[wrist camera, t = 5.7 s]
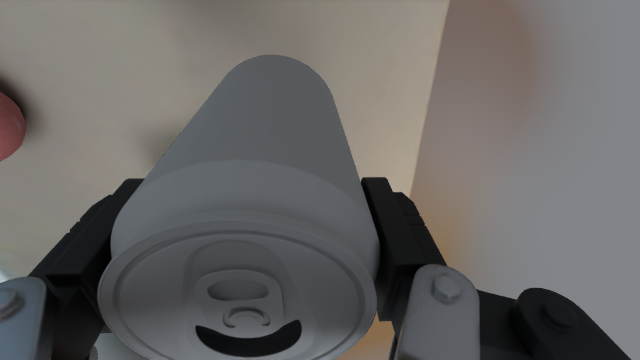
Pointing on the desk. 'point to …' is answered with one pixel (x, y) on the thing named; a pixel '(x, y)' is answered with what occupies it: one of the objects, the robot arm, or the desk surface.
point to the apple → (10, 127)
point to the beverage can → (247, 230)
